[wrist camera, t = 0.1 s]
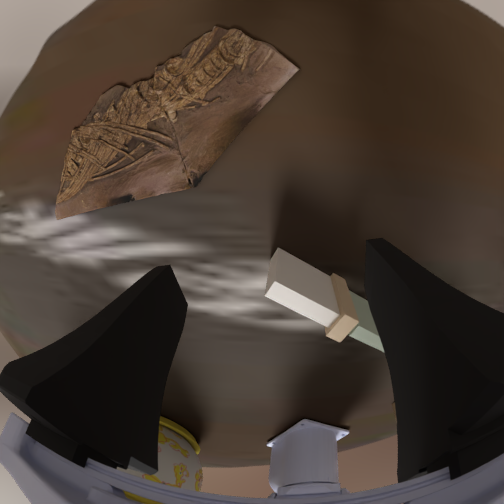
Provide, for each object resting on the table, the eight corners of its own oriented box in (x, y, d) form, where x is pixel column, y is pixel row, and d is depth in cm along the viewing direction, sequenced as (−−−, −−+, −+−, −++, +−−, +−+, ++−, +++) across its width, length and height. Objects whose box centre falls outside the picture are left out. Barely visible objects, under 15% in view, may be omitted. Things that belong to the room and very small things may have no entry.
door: (414, 339, 22) (430, 373, 18) (339, 298, 21) (349, 335, 17) (425, 327, 21) (443, 360, 17) (351, 283, 21) (364, 319, 16)
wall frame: (433, 352, 23) (451, 389, 18) (267, 263, 21) (260, 304, 16) (445, 339, 22) (465, 375, 17) (280, 243, 20) (278, 279, 15)
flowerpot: (225, 459, 37) (208, 535, 22) (142, 445, 41) (115, 506, 26) (190, 406, 31) (152, 512, 16) (94, 390, 34) (49, 463, 19)
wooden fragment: (266, 9, 14) (264, 3, 13) (328, 133, 17) (330, 133, 16) (37, 160, 20) (30, 162, 19) (76, 251, 24) (70, 255, 23)
